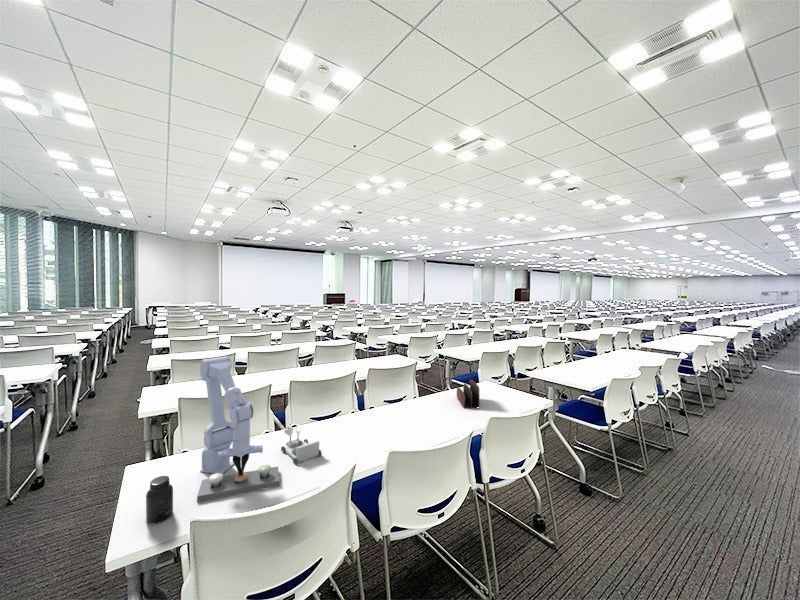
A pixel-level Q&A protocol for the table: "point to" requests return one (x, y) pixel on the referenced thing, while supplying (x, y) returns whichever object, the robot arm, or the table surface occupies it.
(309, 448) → the toy rover
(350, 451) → the table surface
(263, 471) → the sage green button
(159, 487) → the supplement bottle
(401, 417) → the table surface
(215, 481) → the ivory button
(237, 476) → the terracotta button
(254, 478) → the button panel
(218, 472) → the robot arm
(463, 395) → the letter holder
